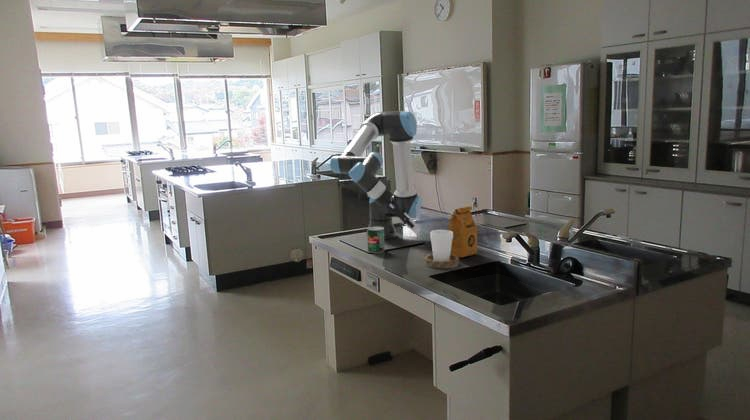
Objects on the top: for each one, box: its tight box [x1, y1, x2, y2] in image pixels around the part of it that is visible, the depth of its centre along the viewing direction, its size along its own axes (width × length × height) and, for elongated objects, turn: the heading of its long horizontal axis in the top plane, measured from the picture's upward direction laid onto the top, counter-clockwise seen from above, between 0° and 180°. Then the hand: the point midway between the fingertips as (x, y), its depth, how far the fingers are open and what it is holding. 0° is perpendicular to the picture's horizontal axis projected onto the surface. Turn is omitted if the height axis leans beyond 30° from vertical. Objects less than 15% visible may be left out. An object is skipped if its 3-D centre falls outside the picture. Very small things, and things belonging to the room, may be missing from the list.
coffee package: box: [448, 205, 478, 258], centre depth 239 cm, size 10×12×22 cm
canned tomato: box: [366, 226, 385, 254], centre depth 250 cm, size 8×8×11 cm
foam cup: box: [429, 229, 453, 262], centre depth 227 cm, size 10×9×13 cm
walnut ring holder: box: [424, 253, 460, 270], centre depth 228 cm, size 14×14×3 cm
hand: (416, 228), depth 225 cm, fingers open, 13 cm apart
